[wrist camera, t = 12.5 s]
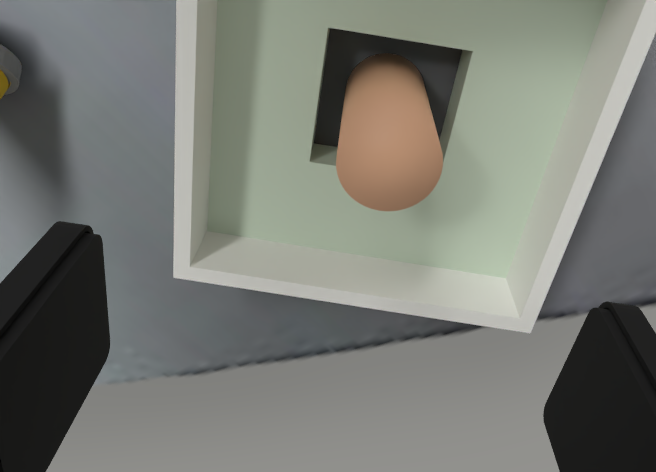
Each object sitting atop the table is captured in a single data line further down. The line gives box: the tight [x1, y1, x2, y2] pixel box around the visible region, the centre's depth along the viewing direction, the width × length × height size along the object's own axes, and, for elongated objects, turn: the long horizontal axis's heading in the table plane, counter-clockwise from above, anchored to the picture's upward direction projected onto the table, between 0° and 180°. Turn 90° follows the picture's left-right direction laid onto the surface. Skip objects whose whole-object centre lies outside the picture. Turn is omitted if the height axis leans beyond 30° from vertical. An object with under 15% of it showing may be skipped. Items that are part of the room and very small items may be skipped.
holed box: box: [173, 0, 656, 333], centre depth 27 cm, size 18×18×6 cm
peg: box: [336, 53, 443, 211], centre depth 26 cm, size 4×4×9 cm
